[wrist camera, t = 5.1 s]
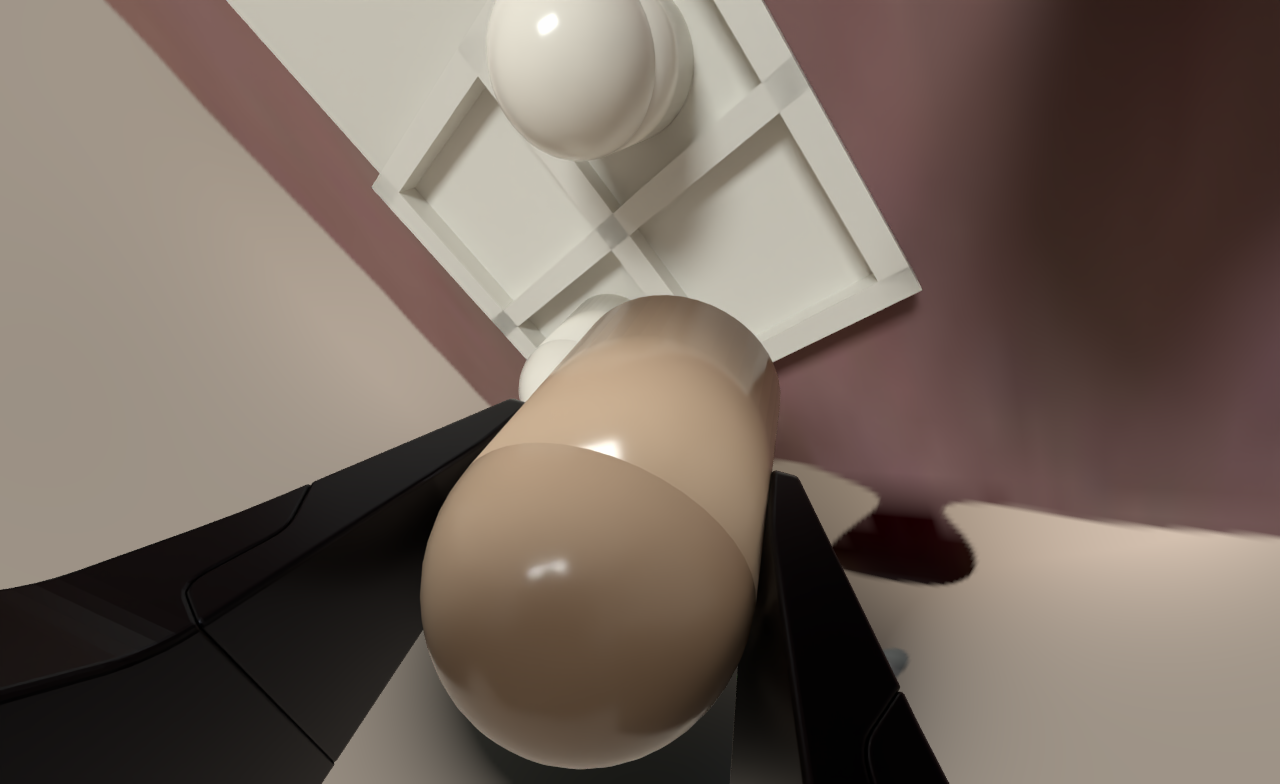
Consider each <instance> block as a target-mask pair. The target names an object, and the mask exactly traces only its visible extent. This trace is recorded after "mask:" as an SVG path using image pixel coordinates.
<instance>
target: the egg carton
mask: <svg viewBox="0 0 1280 784" xmlns="http://www.w3.org/2000/svg"><path fill="white" fill-rule="evenodd" d="M226 1H227V2H228V3H229V4H230V5H231V6H232V7H233V8H234V10H235V11H236V12H237V13H238V14H239V15H240V16H241V17H242V19H243V20H244V21H245V22H246V23H247V24H248V25H249V27H250V28H251V29H252V30H253V31H254V32H255V33H256V34H257V36H258V37H259V38H260V39H261V40H262V41H263V42H264V43H265V45H266V46H267V47H268V48H269V49H270V50H271V51H272V52H273V54H274V55H275V56H276V57H277V58H278V59H279V60H280V61H281V63H282V64H283V65H284V66H285V67H286V68H287V69H288V70H289V72H290V73H291V74H292V75H293V76H294V77H295V78H296V79H297V81H298V82H299V83H300V84H301V85H302V86H303V87H304V88H305V90H306V91H307V92H308V93H309V94H310V95H311V96H312V97H313V99H314V100H315V101H316V102H317V103H318V104H319V105H320V107H321V108H322V109H323V110H324V111H325V112H326V113H327V114H328V116H329V117H330V118H331V119H332V120H333V121H334V122H335V123H336V125H337V126H338V127H339V128H340V129H341V130H342V131H343V132H344V134H345V135H346V136H347V137H348V138H349V139H350V140H351V141H352V143H353V144H354V145H355V146H356V147H357V148H358V149H359V150H360V152H361V153H362V154H363V155H364V156H365V157H366V158H367V159H368V161H369V162H370V163H371V164H372V165H373V166H374V167H375V168H376V170H377V171H378V172H379V173H380V174H379V176H378V178H377V179H376V181H375V182H374V184H373V186H372V189H373V190H374V191H375V192H376V193H377V194H378V195H379V196H380V197H381V199H382V200H383V201H384V202H385V203H386V204H387V205H388V206H389V207H390V209H391V210H392V211H393V212H394V213H395V214H396V215H397V216H398V217H399V218H400V220H401V221H402V222H403V223H404V224H405V225H406V226H407V227H408V228H409V230H410V231H411V232H412V233H413V234H414V235H415V236H416V237H417V238H418V240H419V241H420V242H421V243H422V244H423V245H424V246H425V247H426V248H427V250H428V251H429V252H430V253H431V254H432V255H433V256H434V257H435V258H436V259H437V261H438V262H439V263H440V264H441V265H442V266H443V267H444V268H445V269H446V271H447V272H448V273H449V274H450V275H451V276H452V277H453V278H454V279H455V281H456V282H457V283H458V284H459V285H460V286H461V287H462V288H463V289H464V291H465V292H466V293H467V294H468V295H469V296H470V297H471V298H472V299H473V301H474V302H475V303H476V304H477V305H478V306H479V307H480V308H481V309H482V310H483V312H484V313H485V314H486V315H487V316H488V317H489V318H490V319H491V320H492V322H493V323H494V324H495V325H496V326H497V327H498V328H499V329H500V330H501V332H502V333H503V334H504V335H505V336H506V337H507V338H508V339H509V340H510V342H511V343H512V344H513V345H514V346H515V347H516V348H517V349H518V350H519V352H520V353H521V354H522V355H523V356H524V357H525V358H526V359H528V358H529V356H530V355H531V354H532V353H533V351H534V350H535V349H536V348H537V347H538V346H539V345H540V344H541V343H542V342H543V341H544V340H545V339H546V338H547V337H548V336H549V335H550V334H551V333H553V332H554V331H555V330H556V329H557V328H558V327H559V326H560V325H561V324H562V323H563V322H564V321H565V320H566V319H567V318H568V317H569V316H570V315H571V314H572V313H573V312H574V311H575V310H576V309H577V308H578V307H579V306H580V305H581V304H582V303H583V302H584V301H585V300H587V299H589V298H591V297H593V296H596V295H600V294H615V295H619V296H623V297H626V298H628V299H630V300H633V299H636V298H640V297H646V296H652V295H672V296H682V297H687V298H691V299H695V300H699V301H702V302H704V303H707V304H710V305H713V306H715V307H717V308H719V309H721V310H722V311H724V312H726V313H728V314H729V315H731V316H732V317H734V318H735V319H737V320H738V321H740V322H741V323H742V324H743V325H744V326H745V327H747V328H748V329H749V330H750V331H751V332H752V333H753V334H754V335H755V336H756V338H757V339H758V340H759V341H760V342H761V344H762V345H763V347H764V348H765V349H766V351H767V352H768V354H769V356H770V358H771V360H772V362H774V361H776V360H778V359H781V358H783V357H785V356H787V355H789V354H791V353H793V352H795V351H797V350H799V349H801V348H803V347H805V346H807V345H810V344H812V343H814V342H816V341H818V340H820V339H822V338H824V337H826V336H828V335H830V334H832V333H834V332H837V331H839V330H841V329H843V328H845V327H847V326H849V325H851V324H853V323H855V322H857V321H859V320H861V319H864V318H866V317H868V316H870V315H872V314H874V313H876V312H878V311H880V310H882V309H884V308H886V307H888V306H890V305H893V304H895V303H897V302H899V301H901V300H903V299H905V298H907V297H909V296H911V295H913V294H915V293H917V292H920V291H922V288H921V286H920V284H919V281H918V279H917V277H916V275H915V273H914V271H913V269H912V267H911V265H910V264H909V262H908V260H907V258H906V256H905V255H904V253H903V251H902V249H901V247H900V246H899V244H898V242H897V240H896V238H895V237H894V235H893V233H892V231H891V229H890V228H889V226H888V224H887V222H886V220H885V219H884V217H883V215H882V213H881V211H880V209H879V208H878V206H877V204H876V202H875V200H874V199H873V197H872V195H871V193H870V191H869V190H868V188H867V186H866V184H865V182H864V181H863V179H862V177H861V175H860V173H859V172H858V170H857V168H856V166H855V164H854V163H853V161H852V159H851V157H850V155H849V153H848V152H847V150H846V148H845V146H844V144H843V143H842V141H841V139H840V137H839V135H838V134H837V132H836V130H835V128H834V126H833V125H832V123H831V121H830V119H829V117H828V116H827V114H826V112H825V110H824V108H823V107H822V105H821V103H820V101H819V99H818V97H817V96H816V94H815V92H814V90H813V88H812V87H811V85H810V83H809V81H808V79H807V78H806V76H805V74H804V72H803V70H802V69H801V67H800V65H799V63H798V61H797V60H796V58H795V56H794V54H793V52H792V51H791V49H790V47H789V45H788V43H787V41H786V40H785V38H784V36H783V34H782V32H781V31H780V29H779V27H778V25H777V23H776V22H775V20H774V18H773V16H772V14H771V13H770V11H769V9H768V7H767V5H766V4H765V2H764V0H673V1H674V3H675V4H676V5H677V7H678V8H679V10H680V11H681V13H682V15H683V17H684V19H685V21H686V23H687V26H688V29H689V32H690V35H691V40H692V45H693V55H694V69H693V77H692V83H691V87H690V91H689V94H688V96H687V99H686V101H685V103H684V105H683V107H682V109H681V111H680V112H679V114H678V115H677V117H676V118H675V119H674V120H673V122H672V123H671V124H670V125H669V126H668V127H667V128H665V129H664V130H663V131H661V132H660V133H659V134H657V135H655V136H653V137H651V138H648V139H646V140H644V141H641V142H639V143H636V144H634V145H632V146H629V147H627V148H624V149H622V150H620V151H617V152H615V153H612V154H610V155H608V156H605V157H602V158H599V159H595V160H589V161H569V160H564V159H559V158H556V157H553V156H551V155H549V154H547V153H545V152H543V151H541V150H539V149H537V148H536V147H534V146H533V145H531V144H530V143H529V142H528V141H527V140H526V139H524V138H523V137H522V136H521V135H520V134H519V133H518V131H517V130H516V129H515V128H514V127H513V126H512V125H511V123H510V122H509V120H508V119H507V118H506V116H505V114H504V113H503V111H502V109H501V107H500V105H499V103H498V101H497V99H496V97H495V94H494V91H493V89H492V85H491V82H490V78H489V73H488V68H487V60H486V34H487V26H488V21H489V17H490V13H491V10H492V7H493V4H494V2H495V0H226Z"/></svg>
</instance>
